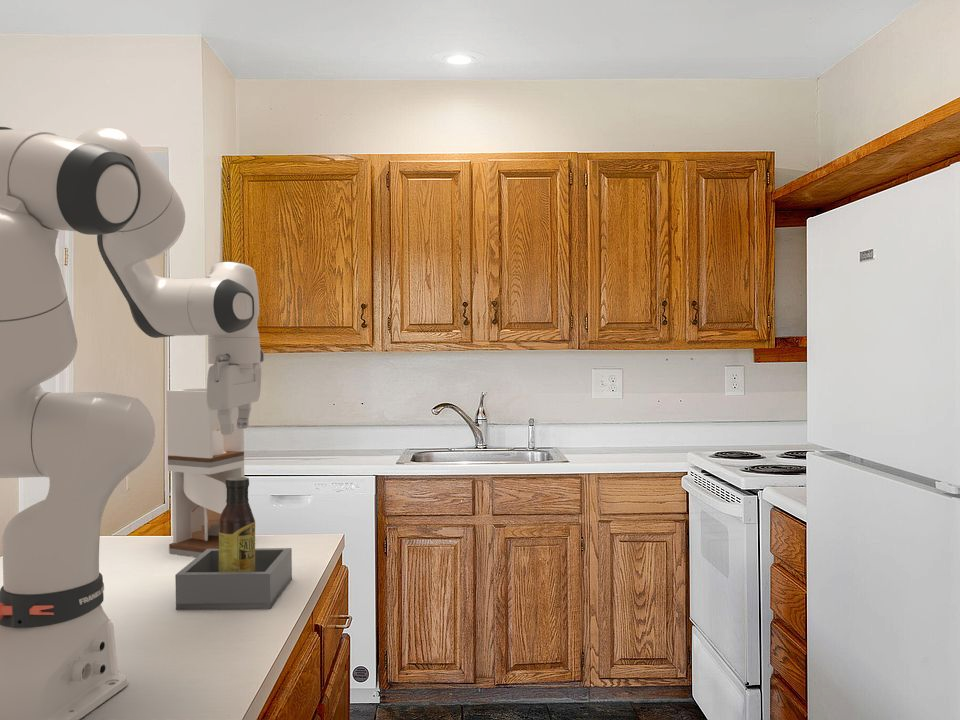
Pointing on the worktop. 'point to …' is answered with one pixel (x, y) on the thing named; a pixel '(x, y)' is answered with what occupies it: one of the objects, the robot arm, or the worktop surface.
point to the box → (233, 582)
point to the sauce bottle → (237, 529)
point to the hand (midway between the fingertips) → (235, 431)
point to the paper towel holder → (199, 469)
